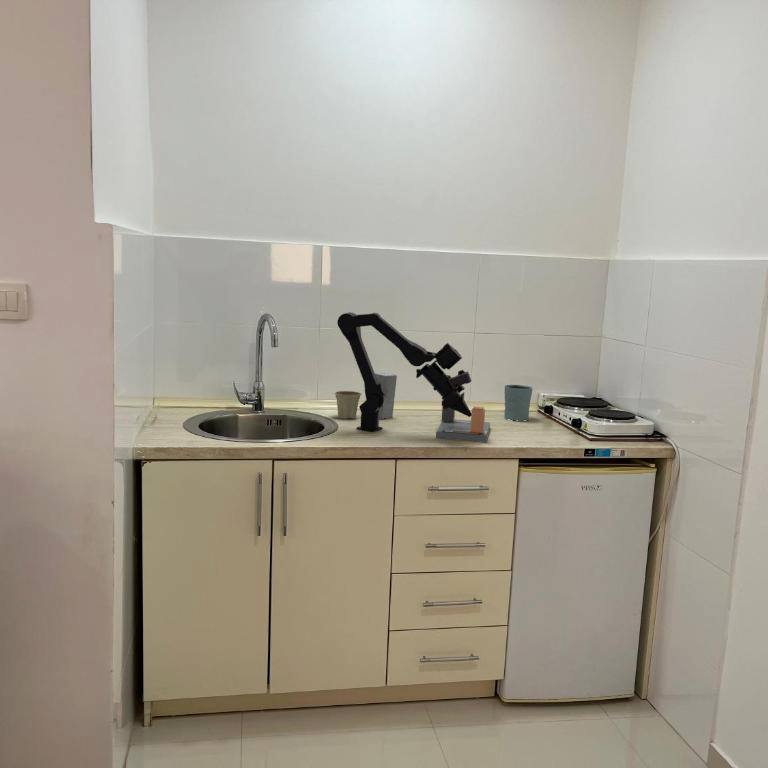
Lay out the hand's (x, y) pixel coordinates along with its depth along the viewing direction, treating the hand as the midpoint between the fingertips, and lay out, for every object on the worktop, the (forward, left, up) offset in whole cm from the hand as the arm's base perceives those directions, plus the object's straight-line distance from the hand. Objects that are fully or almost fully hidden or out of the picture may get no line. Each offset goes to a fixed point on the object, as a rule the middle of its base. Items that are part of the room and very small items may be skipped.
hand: (470, 415), depth 244 cm
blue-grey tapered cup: (+41, 0, -7) cm, 42 cm away
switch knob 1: (+10, +13, -5) cm, 17 cm away
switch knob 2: (+1, -2, -5) cm, 5 cm away
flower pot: (0, +47, -7) cm, 47 cm away
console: (+6, +5, -7) cm, 10 cm away
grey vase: (+9, +39, -7) cm, 40 cm away
